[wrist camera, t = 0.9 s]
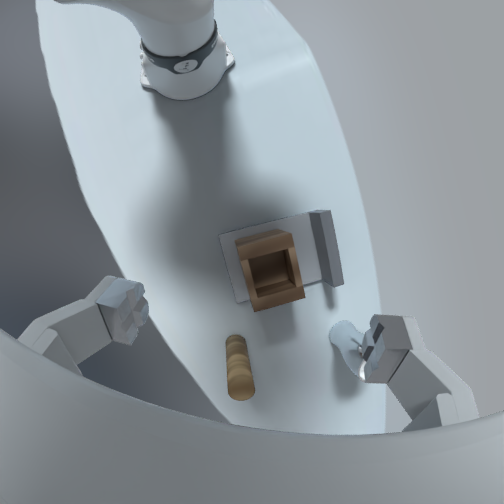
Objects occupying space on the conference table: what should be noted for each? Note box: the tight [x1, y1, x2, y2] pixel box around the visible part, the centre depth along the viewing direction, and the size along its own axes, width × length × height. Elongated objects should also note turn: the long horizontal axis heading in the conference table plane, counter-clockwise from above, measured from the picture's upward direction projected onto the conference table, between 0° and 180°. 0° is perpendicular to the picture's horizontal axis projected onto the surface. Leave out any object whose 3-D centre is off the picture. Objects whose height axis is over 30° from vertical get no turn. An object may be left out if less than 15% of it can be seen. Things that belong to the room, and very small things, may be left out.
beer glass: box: [329, 320, 366, 382], centre depth 48 cm, size 7×7×15 cm
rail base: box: [218, 210, 344, 303], centre depth 48 cm, size 13×19×7 cm
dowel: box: [226, 335, 255, 401], centre depth 45 cm, size 4×4×16 cm
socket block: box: [234, 229, 305, 312], centre depth 45 cm, size 10×8×10 cm
